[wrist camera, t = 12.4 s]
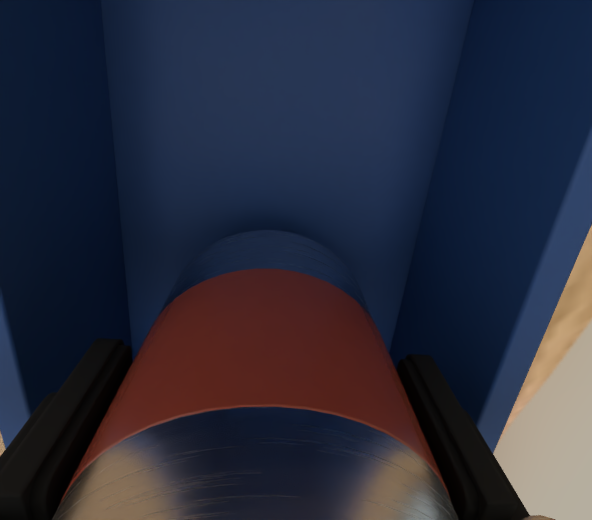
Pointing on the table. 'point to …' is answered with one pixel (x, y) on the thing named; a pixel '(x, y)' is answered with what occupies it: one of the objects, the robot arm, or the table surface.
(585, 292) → the table surface
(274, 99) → the blue storage box
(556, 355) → the table surface
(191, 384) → the silver can
